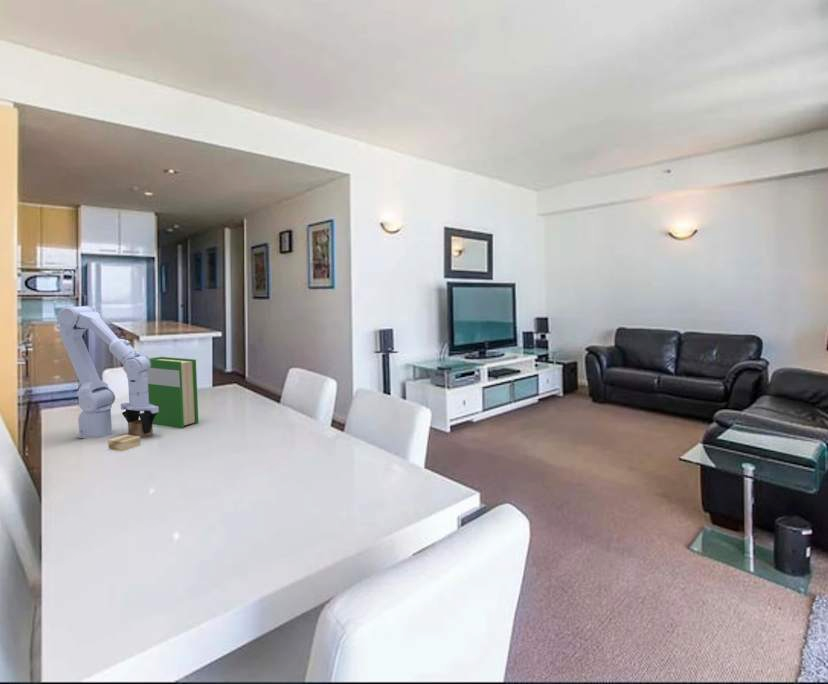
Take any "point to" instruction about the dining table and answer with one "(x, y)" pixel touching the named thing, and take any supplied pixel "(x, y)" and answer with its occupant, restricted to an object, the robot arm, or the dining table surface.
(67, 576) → the dining table surface
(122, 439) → the oak block
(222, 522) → the dining table surface
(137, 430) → the walnut cube
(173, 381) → the hardback book
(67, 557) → the dining table surface
